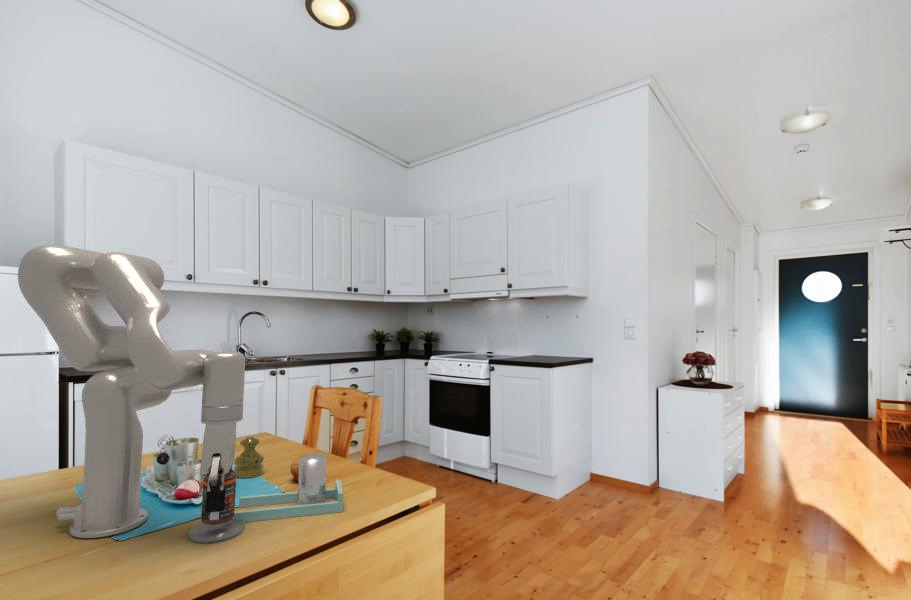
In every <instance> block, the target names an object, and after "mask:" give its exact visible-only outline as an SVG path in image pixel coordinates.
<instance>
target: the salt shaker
mask: <svg viewBox="0 0 911 600" xmlns="http://www.w3.org/2000/svg"><path fill="white" fill-rule="evenodd" d="M260 442H261V440H260V439H259V438H256V437H254V436H247V437H246V438H244V439H242V440H240V442H239V444H240V445H241V446H242V447H243V449H244V450H243V451H242V452H241V453H240V454H239V455H238V456H235V457H234V462H233V464H234V465H235V466H234V467H233V471H235V473H236V478H238V477H239V478H238V479H250V478H249V477H251V478H255V476H256V477H258V476H261V475H262V474H263V473H264V464H263V462H264V459H265V457H264V456H263V454H261V453H259V451H258V450H256V446H257V445H259V444H260Z"/></svg>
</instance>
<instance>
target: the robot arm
mask: <svg viewBox="0 0 911 600" xmlns="http://www.w3.org/2000/svg"><path fill="white" fill-rule="evenodd" d="M17 270H18V271H17V283H18V287H19V290H20V292H21V294H22V296H23V298H24V299H25V301H26V302H27V304H28V305H29V306H30V307H31V308H32V309H33V311H34V312H35V314H36V315H37V316H38V317H39V318H40V320H41V322H43V324H44V325H45V327H46V328H47V330H48V332H49V334H50V335H51V338H52V339H53V341H54V342H55V343H56V345H57V347H58V348H59V350H60V352H61V353H62V354H63V357H64V358H65V360H66V361H67V362H68V363H69V365H70V366H71V367H72V368H74V369H75V370H76V371H81V372H97V373H95V374H93V375H92V376H91V377H90V378H89V379H88V380H87V381H86V382H85V384H84V385H83V388H82V391H81V403H82V409H83V415H84V423H85V439H84V440H85V441H84V442H85V443H84V464H83V466H84V467H83V478H82V479H83V480H82V493H81V494H82V495H81V504H78V505H77V506H72V507H71V506H67V507H66V506H65V507H59V508H58V509H57V510H56V514H55V517H56V519H57V521H58V522H64V521H65V522H66V521H72V522H73V523H72V524H71V525H70V526H69V534H70V535H71V536H72V537H75V538H78V539H97V538H98V539H99V538H105V537H110V536H115V535H118V534H123V533H125V532H128V531H131V530H133V529H135V528H137V527H140V526H141V525H143V524H144V523H145V522H146V521H147V519H148V511H147V509H145V508H142V507H140V500H141V499H140V498H141V480H142V466H143V465H142V463H143V462H142V461H143V447H144V446H143V441H144V433H143V432H144V431H143V426H142V424H141V421H140V419H139V417H138V415H137V414H138V413H137V412H138V411H141V410H145V409H149V408H153V407H156V406H159V405H161V404H163V403H164V402H166V401H167V400H168V399H169V398H170V396H171V394H172V391H174V390H176V391H177V390H179V389H180V390H181V389H186V388H192V387H196V386H202V391H201V392H202V393H201V412H200V413H201V414H200V423H201V424H202V425H204V424H205V426H204V427H205V428H204V432H203V440H202V447H201V448H202V451H201V460H200V461H201V462H200V473H199V474H200V476H201V477H203V478H204V476H205V475H207V473H208V472H209V479H208V488H207V496H206V512H207V513H209V512H220V511H224V509H225V492H226V489H224V483H225V475H226V474H227V473H228V472H229V471H230V469H231V465H232V466H233V464H234V460H235V457H236V456H235V454H236V443H237V442H236V440H237V423H238V422H241V421H242V420H243V419H244V417H243V416H244V415H243V414H244V393H245V373H246V372H245V370H246V357H245V355H244V354H243V353H242V352H239V351H212V350H207V349H202V348H201V349H200V348H199V349H181V350H173V349H172V348H171V347H170V345H169V344H168V342H166V340H165V339H164V337H163V336H162V334H161V333H160V330H159V328H158V323H160V322H161V321H162V320H164V318H166V317H167V315H168V314H169V312H170V308H171V307H170V306H171V305H170V303H169V302H168V300H167V299H166V298H165V297H164V296H163V294H162V293H161V292H160V290H161V288H163V286H164V283H165V274H164V273H165V272H164V270H163V269H162V266H161V265H160V264H158V263H157V261H155V260H153V259H152V258H148V257H145V256H139V255H134V254H129V253H125V252H114V251H113V252H106V253H103V252H99V251H92V250H88V249H82V248H78V247H72V246H67V245H66V246H65V245H59V244H58V245H57V244H46V245H45V244H44V245H39V246H36V247H32V248H31V249H29V250H28V251H27V252H26V253H25V254H23V256H22V258H21V259H20V262H19V265H18V269H17ZM73 288H76V289H87V290H96V291H97V290H98V291H100V292H101V293H102V295H104V297H105V298H106V299H107V301H108V303H109V304H110V305H111V307H112V308H113V309H114V310H115V312H116V313H117V314H118V316H119V317H120V319H121V320H122V321H123V323H124V324H125V325H109V324H107V323H105V322H104V321H103V320H102V319H101V317H100V316H99V315H98V314H97V312H96V310H95V308H94V307H93V306H92V304H91V303H90V302H89V301H88V300H87V299H85V298H84V297H83V296H82V295H80V294H79V293H78V292H76V291H75V290H74V289H73ZM98 371H99V372H98ZM220 460H221V462H220ZM220 470H223V473H218V472H219V471H220ZM218 477H221V481H220V479H218ZM220 482H221V483H220Z"/></svg>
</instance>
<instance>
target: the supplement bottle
mask: <svg viewBox="0 0 911 600" xmlns="http://www.w3.org/2000/svg"><path fill="white" fill-rule="evenodd" d="M220 462H221V460H220ZM232 467H233V464H232V465H231V469H230V471H229V472H228V473H227V474H226V475H225V483H224V489H226V492H225V509H224V511H220V512H209V513H207V512H206V496H207V488H208V479H209V471H208V473H207V475H205V476H203V480H202V496H201V497H202V498H201V515H200V521H201V523H204V524H209V525H217V524H222V523H225V522H228V521H230V520H231V519H232V518H234V512H235V510H236V508H235V506H236V491H237V490H236V489H237V477H236V473H235V471H234V469H233V468H232ZM218 473H223V470H220V471H219V472H218ZM218 479H220V481H221V477H218ZM220 483H221V482H220Z"/></svg>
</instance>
